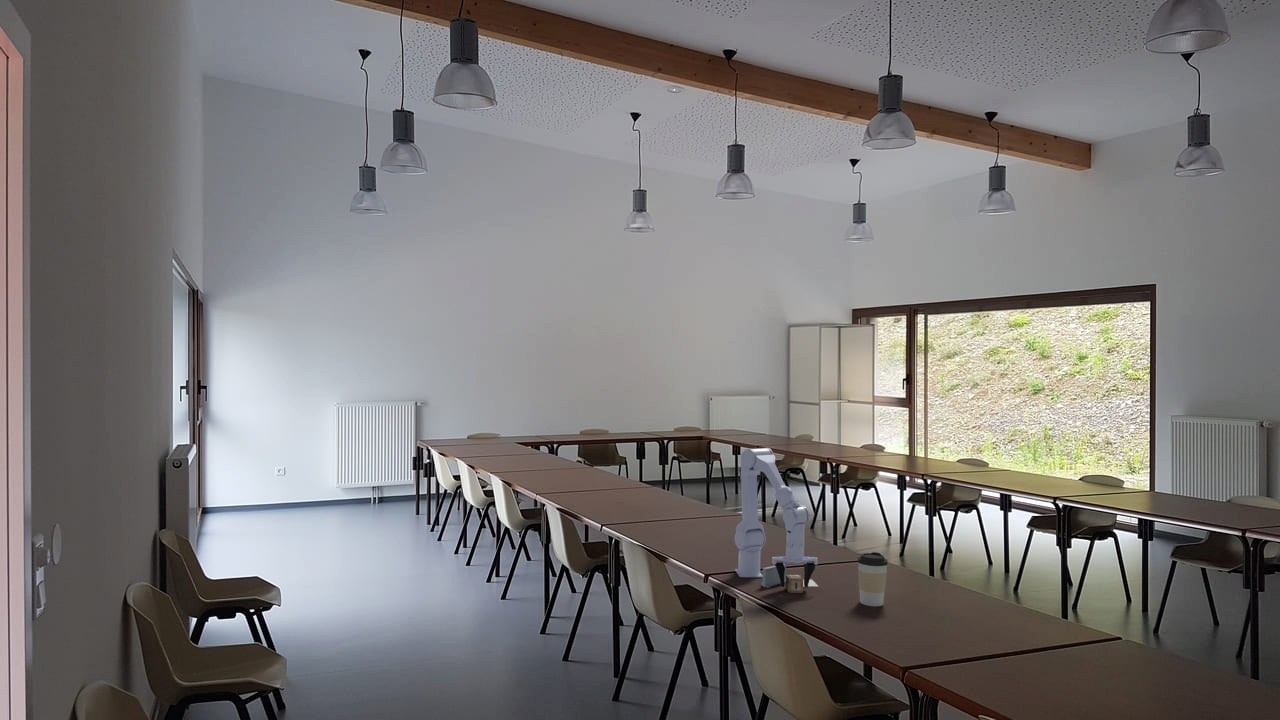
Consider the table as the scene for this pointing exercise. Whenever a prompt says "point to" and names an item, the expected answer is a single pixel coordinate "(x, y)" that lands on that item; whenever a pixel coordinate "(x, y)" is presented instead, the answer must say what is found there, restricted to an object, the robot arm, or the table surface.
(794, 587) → the letter cube
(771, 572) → the screen
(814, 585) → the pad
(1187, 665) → the table surface
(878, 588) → the coffee cup
